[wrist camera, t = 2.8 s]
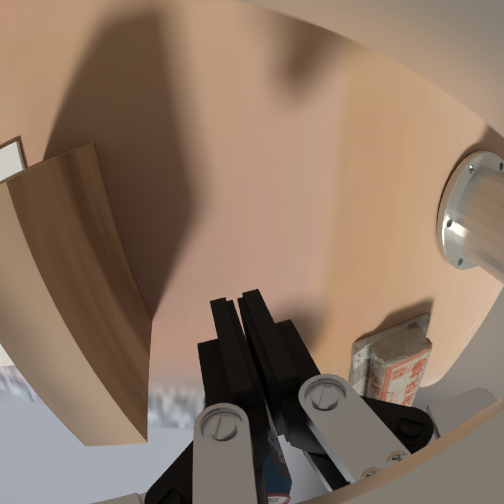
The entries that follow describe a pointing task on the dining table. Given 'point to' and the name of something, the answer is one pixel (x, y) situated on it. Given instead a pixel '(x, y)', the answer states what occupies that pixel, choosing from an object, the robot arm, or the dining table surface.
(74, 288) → the wooden block
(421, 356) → the packaged product
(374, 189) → the dining table surface
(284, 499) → the soda can
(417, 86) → the dining table surface
